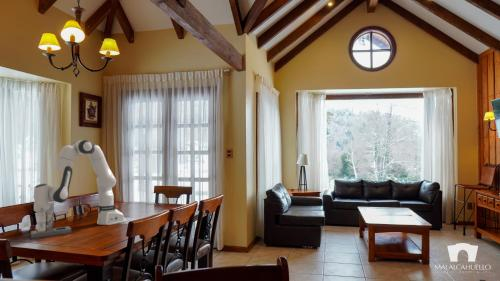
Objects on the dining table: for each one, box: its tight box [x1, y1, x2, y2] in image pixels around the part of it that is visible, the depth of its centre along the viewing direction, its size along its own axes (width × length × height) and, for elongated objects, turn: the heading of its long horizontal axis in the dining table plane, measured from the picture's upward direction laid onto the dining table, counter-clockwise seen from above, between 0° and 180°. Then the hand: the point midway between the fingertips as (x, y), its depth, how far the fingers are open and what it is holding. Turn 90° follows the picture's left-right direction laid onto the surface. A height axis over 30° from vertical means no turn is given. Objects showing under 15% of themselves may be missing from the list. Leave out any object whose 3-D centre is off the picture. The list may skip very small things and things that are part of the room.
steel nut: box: [36, 221, 45, 232], centre depth 244 cm, size 4×4×8 cm
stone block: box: [45, 201, 55, 229], centre depth 263 cm, size 13×7×20 cm, turn 14°
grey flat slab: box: [30, 225, 72, 239], centre depth 247 cm, size 24×10×3 cm, turn 125°
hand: (41, 227), depth 244 cm, fingers closed on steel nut, 4 cm apart
